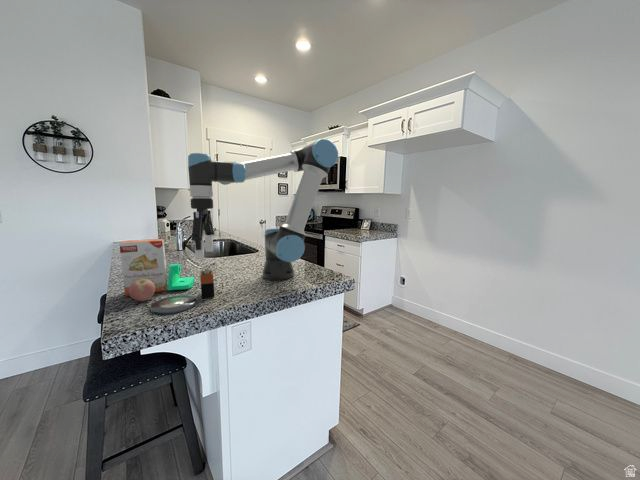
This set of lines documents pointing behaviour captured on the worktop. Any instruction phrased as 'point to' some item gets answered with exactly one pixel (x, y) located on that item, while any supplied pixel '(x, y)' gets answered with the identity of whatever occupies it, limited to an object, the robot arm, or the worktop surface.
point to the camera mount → (178, 279)
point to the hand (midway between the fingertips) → (205, 254)
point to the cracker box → (144, 263)
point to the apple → (142, 289)
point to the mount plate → (173, 304)
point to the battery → (207, 283)
